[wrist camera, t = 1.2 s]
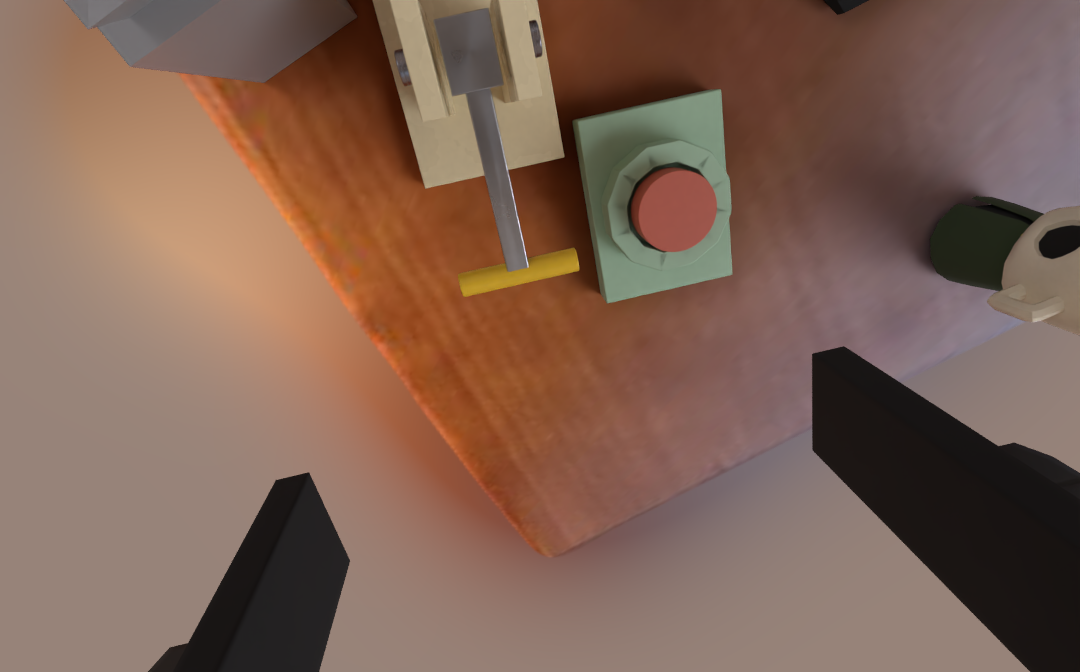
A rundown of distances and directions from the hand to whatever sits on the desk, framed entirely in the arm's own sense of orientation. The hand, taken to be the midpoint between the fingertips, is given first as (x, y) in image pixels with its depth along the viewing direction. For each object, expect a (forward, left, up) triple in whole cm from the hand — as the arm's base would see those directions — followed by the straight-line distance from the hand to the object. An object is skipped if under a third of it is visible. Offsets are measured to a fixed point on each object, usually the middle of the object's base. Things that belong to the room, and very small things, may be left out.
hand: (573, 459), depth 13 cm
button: (0, +10, -23) cm, 25 cm away
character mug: (+8, +33, -26) cm, 43 cm away
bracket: (-10, 0, -26) cm, 28 cm away
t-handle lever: (-5, 0, -17) cm, 18 cm away
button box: (0, +10, -26) cm, 28 cm away
